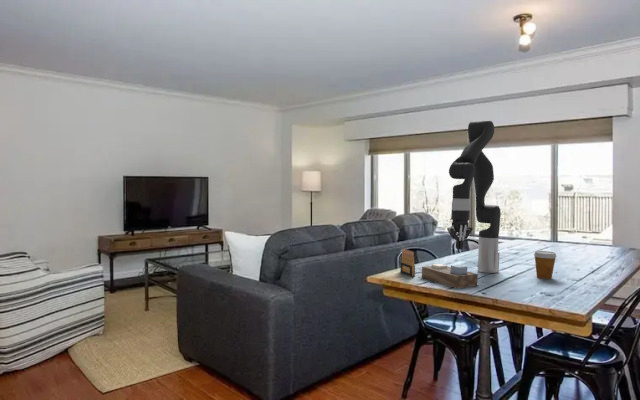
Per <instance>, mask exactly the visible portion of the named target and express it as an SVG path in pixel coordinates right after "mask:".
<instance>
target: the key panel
mask: <svg viewBox="0 0 640 400" xmlns="http://www.w3.org/2000/svg"><path fill="white" fill-rule="evenodd" d="M478 277H479V274H478V273H475V272H471V271H468V270H467V274H461V275H458V274H454V273H451V266H448V265H447V269H436V268H432V265H428V266H421V278H422V279H425V280H428V281H432V282H435V283H439V284H441V285H445V286H447V287H448V286H449V287H450V288H454V289H461V288H469V287H477V286H479V285H478V284H479V283H478V279H479V278H478Z"/></svg>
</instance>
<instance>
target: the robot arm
mask: <svg viewBox="0 0 640 400" xmlns="http://www.w3.org/2000/svg"><path fill="white" fill-rule="evenodd" d="M467 134H468V140H469V144H467V145H465V147H464V148H463V150H462V152H461V154H460V156H458V157H457V158H456V159H455V160H454V161H453V162H451V164H450V166H449V167H448V168H449V169H448V174H449V177H450V178H451V179H454V180H463V181H462V183H460V184H459V183H458V184H455V185H453V187H452V199H451V200H452V201H451V214H450V215H451V217H450V219H451V220H452V221H451V225H450V227H447V229H446V230H447V232H448V233H449V235H450V237H451V239H452V240H455V248H456V249H457V250H463V248H464V241H465V240H467V239H468V238H469V236H470V234H471V233H472V231H473V229H474V227H471V226H470V225H469V220H470V216H471V215H470V214H471V210H470V209H471V202H470V201H471V200H470V198H471V196H470V195H471V194H470V193H471V186H472V182H473V183H474V194H475V218H476V220H477V222H478V223H480V224H490V226H489V227H488V228H485V229H482V230H479V232H478V249H477V251H478V252H477V254H478V257H477V271H478V272H481V273H486V274H496V273H498V272H500V252H499V238H500V237H499V235H500V227H501V225H500V224H501V215H502V214H501V207H500V206H499V205H496V204H495V205H494V204H486V203H485V200H486V199H485V197H486V196H487V195H486V194H487V193H488V191H489V189H490V188H491V186H492V185H493V183H494V180H495V179H494V178H495V175H494V165H493V164H492V162H491V160H490V159H489V158H488V157H487V156H486V154H485V153H484V151H483V150H484V149H485V147H486V146H488V144H489V143H490V141H491V140H492V139H493V137H494V134H495V125H494V122H493V121H492V120H490V119H489V120H488V119H486V120H475V121H474V120H473V121H470V122H469V123H468V126H467Z"/></svg>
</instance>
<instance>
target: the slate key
mask: <svg viewBox="0 0 640 400" xmlns="http://www.w3.org/2000/svg"><path fill="white" fill-rule="evenodd" d="M450 267H451V273H454V274H458V275H461V274H467V271H468V266H466V265H462V264H454V265H453V264H452V265H450Z"/></svg>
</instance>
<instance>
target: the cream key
mask: <svg viewBox="0 0 640 400" xmlns="http://www.w3.org/2000/svg"><path fill="white" fill-rule="evenodd" d="M431 266H432V268H436V269H447V266H448V265H447V264H442V263H433V264H431Z"/></svg>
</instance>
